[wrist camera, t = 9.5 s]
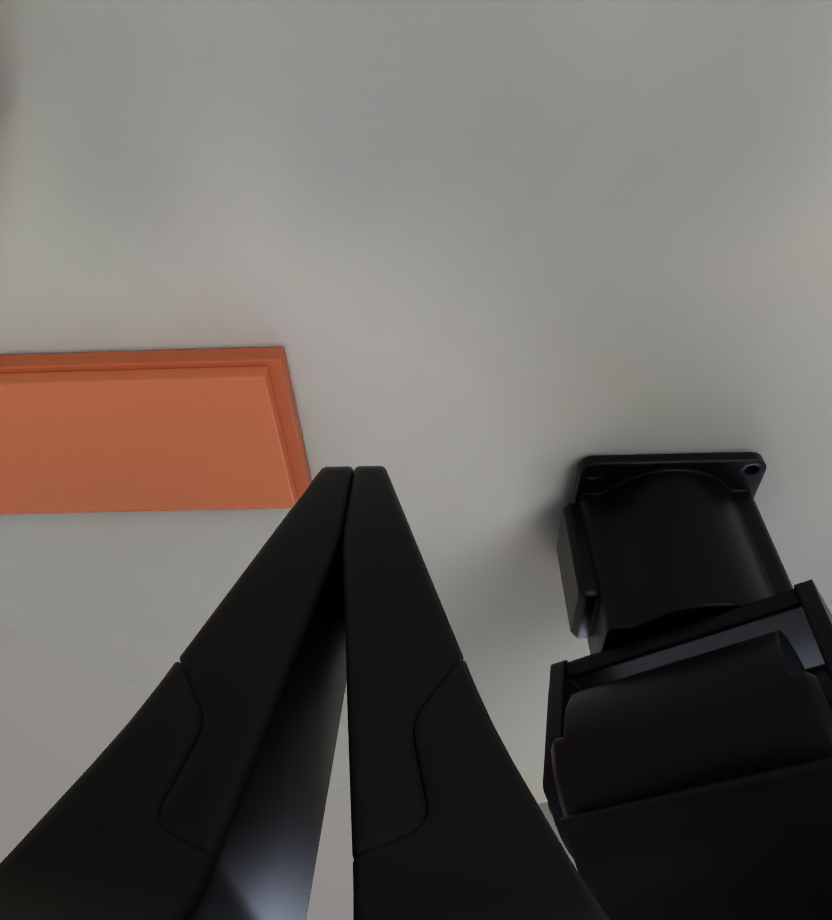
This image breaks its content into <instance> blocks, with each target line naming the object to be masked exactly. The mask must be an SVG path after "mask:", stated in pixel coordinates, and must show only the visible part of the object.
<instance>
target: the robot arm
mask: <svg viewBox="0 0 832 920" xmlns="http://www.w3.org/2000/svg"><path fill="white" fill-rule="evenodd" d="M748 466H750V467H748ZM591 469H596V470H593V471H590V470H591ZM765 471H766V464H765V462H764V460H763V458H762V456H761V455H760V454H758V453H755V452H735V453H692V454H649V455H606V456H590V457H587V458H585V459H583V460H582V461H581V462H580V464H579V466H578V471H577V477H576V483H575V489H574V495H573V501H572V503H568V504H567V505H566V506H565V507H564V508H563V510H562V517H561V523H560V530H559V536H558V542H557V553H558V559H559V565H560V571H561V577H562V583H563V589H564V595H565V601H566V607H567V613H568V619H569V625H570V631H571V632H572V633H573V634H574V635H575V636H576V637H577V638H588V643H589V649H590V654H591V655H589V656H586V657H583V658H579V659H576V660H573V661H570V662H568V661H567V660H565V661H562V662H559V663H556V664H553V665H551V670H550V685H549V694H548V710H547V726H546V743H545V759H544V775H543V789H544V793H545V795H546V798H547V800H548V807H549V810H550V813H551V815H552V816H553V818H554V821H555V825H556V827H557V829H558V832H559V834H560V837H561V839H562V841H563V843H564V845H565V846H566V848H567V850H568V852H569V853H570V855H571V856H572V857H573V859H574V861H575V863H576V867H577V870H578V872H577V870H576V868H575V867H574V865H573V863H572V862H571V861H570V859H569V857H568V855H567V854H566V852H565V850H564V848H563V847H562V845H561V843H560V842H559V840H558V838H557V836H556V835H555V833H554V831H553V830H552V828H551V826H550V825H549V823H548V821H547V820H546V818H545V816H544V814H543V812H542V811H541V809H540V807H539V806H538V804H537V802H536V800H535V799H534V797H533V795H532V794H531V792H530V790H529V788H528V787H527V785H526V783H525V782H524V780H523V778H522V776H521V775H520V773H519V771H518V770H517V768H516V766H515V764H514V763H513V761H512V759H511V757H510V755H509V753H508V751H507V750H506V748H505V746H504V744H503V742H502V740H501V738H500V736H499V735H498V733H497V731H496V729H495V727H494V725H493V723H492V721H491V719H490V717H489V715H488V712H487V710H486V708H485V706H484V704H483V701H482V699H481V697H480V695H479V693H478V690H477V688H476V686H475V684H474V681H473V679H472V676H471V674H470V671H469V669H468V667H467V664H466V662H465V661H463V655H462V653H461V650H460V648H459V646H458V643H457V641H456V638H455V636H454V633H453V631H452V629H451V626H450V624H449V621H448V619H447V616H446V614H445V612H444V609H443V607H442V604H441V602H440V599H439V597H438V595H437V592H436V590H435V587H434V585H433V582H432V580H431V578H430V575H429V573H428V570H427V568H426V565H425V563H424V561H423V558H422V556H421V553H420V551H419V548H418V546H417V544H416V541H415V539H414V536H413V534H412V531H411V529H410V527H409V524H408V522H407V519H406V517H405V514H404V512H403V510H402V507H401V505H400V502H399V500H398V497H397V495H396V493H395V490H394V488H393V485H392V483H391V480H390V478H389V476H388V473H387V471H386V469H385V468H384V467H382V466H359V467H356V468H355V470H353V469H352V468H351V467H348V466H347V467H325V468H323V469H321V470H320V472H319V473H318V474H317V476H316V477H315V478H314V480H313V481H312V482H311V484H310V485H309V486H308V488H307V489H306V490H305V492H304V493H303V494H302V496H301V497H300V498H299V500H298V501H297V502H296V504H295V505H294V506H293V508H292V509H291V510H290V512H289V513H288V514H287V516H286V517H285V518H284V520H283V521H282V522H281V524H280V525H279V526H278V527H277V529H276V530H275V531H274V533H273V534H272V535H271V537H270V538H269V539H268V541H267V542H266V543H265V545H264V546H263V547H262V549H261V550H260V551H259V553H258V554H257V555H256V557H255V558H254V559H253V561H252V562H251V563H250V565H249V566H248V567H247V569H246V570H245V571H244V573H243V574H242V575H241V577H240V578H239V579H238V581H237V582H236V583H235V585H234V586H233V587H232V589H231V590H230V591H229V593H228V594H227V595H226V597H225V598H224V599H223V601H222V602H221V603H220V605H219V606H218V607H217V609H216V610H215V611H214V613H213V614H212V615H211V616H210V618H209V619H208V620H207V622H206V623H205V624H204V626H203V627H202V628H201V630H200V631H199V632H198V634H197V635H196V636H195V638H194V639H193V640H192V642H191V643H190V644H189V646H188V647H187V648H186V650H185V651H184V652H183V654H182V655H181V656H180V661H181V663H180V662H176V663H175V664H174V665H173V666H172V668H171V669H170V670H169V672H168V673H167V674H166V676H165V677H164V679H163V680H162V681H161V683H160V684H159V685H158V686H157V688H156V689H155V690H154V692H153V693H152V694H151V695H150V697H149V698H148V699H147V700H146V702H145V703H144V704H143V705H142V707H141V708H140V709H139V710H138V712H137V713H136V714H135V715H134V717H133V718H132V719H131V720H130V722H129V723H128V724H127V725H126V726H125V728H124V729H123V730H122V731H121V732H120V733H119V734H118V735H117V737H116V738H115V739H114V740H113V741H112V742H111V743H110V744H109V746H108V747H107V748H106V749H105V750H104V751H103V752H102V754H101V755H100V756H99V757H98V758H97V759H96V760H95V762H94V763H93V764H92V765H91V766H90V767H89V768H88V769H87V770H86V771H85V772H84V773H83V775H82V776H81V777H80V778H79V779H78V780H77V781H76V782H75V783H74V784H73V786H72V787H71V788H70V789H69V790H68V791H67V792H66V793H65V794H64V795H63V796H62V797H61V798H60V800H59V801H58V802H57V803H56V804H55V805H54V806H53V807H52V808H51V809H50V810H49V811H48V813H47V814H46V815H45V816H44V817H43V818H42V819H41V820H40V821H39V822H38V823H37V825H36V826H35V827H34V828H33V829H32V830H31V831H30V832H29V833H28V834H27V835H26V836H25V838H24V839H23V840H22V841H21V842H20V843H19V844H18V845H17V846H16V848H14V849H13V851H12V852H11V853H10V854H9V855H8V856H7V857H6V858H5V859H4V860H3V861H2V862H1V863H0V920H306V918H307V912H308V905H309V900H310V894H311V888H312V882H313V876H314V870H315V864H316V858H317V852H318V846H319V841H320V835H321V829H322V823H323V816H324V811H325V805H326V799H327V793H328V787H329V781H330V776H331V770H332V764H333V758H334V752H335V746H336V740H337V734H338V728H339V722H340V716H341V710H342V704H343V699H344V693H345V687H346V681H347V704H348V734H349V764H350V794H351V821H352V822H351V823H352V852H353V857H354V862H353V883H354V884H353V885H354V886H353V887H354V888H353V889H354V920H832V614H831V613H830V611H829V609H828V607H827V605H826V604H825V602H824V600H823V598H822V596H821V595H820V593H819V591H818V589H817V588H816V586H815V584H814V582H813V580H812V579H811V580H808V581H805V582H802V583H799V584H796V585H794V589H793V587H792V584H791V582H790V580H789V578H788V575H787V573H786V571H785V569H784V566H783V564H782V562H781V560H780V557H779V555H778V553H777V550H776V548H775V546H774V544H773V541H772V539H771V537H770V535H769V532H768V530H767V528H766V526H765V523H764V521H763V519H762V517H761V514H760V512H759V510H758V508H757V505H756V503H755V501H754V496H755V494H756V491H757V489H758V487H759V484H760V482H761V480H762V477H763V475H764V473H765Z"/></svg>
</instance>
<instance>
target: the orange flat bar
mask: <svg viewBox="0 0 832 920" xmlns="http://www.w3.org/2000/svg"><path fill="white" fill-rule="evenodd" d="M311 482H312V480H311V475H310V471H309V466H308V461H307V456H306V451H305V446H304V442H303V437H302V432H301V427H300V422H299V418H298V413H297V408H296V403H295V398H294V393H293V389H292V384H291V379H290V374H289V369H288V365H287V360H286V355H285V350H284V347H253V348H218V349H183V350H148V351H114V352H79V353H44V354H9V355H0V514H28V513H76V512H124V511H171V510H219V509H267V508H293V506H294V505H295V504H296V502H297V499H299V498H300V497H301V496H302V494H303V493H304V492H305V490H306V489H307V488H308V486H309V485H310V484H311Z"/></svg>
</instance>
